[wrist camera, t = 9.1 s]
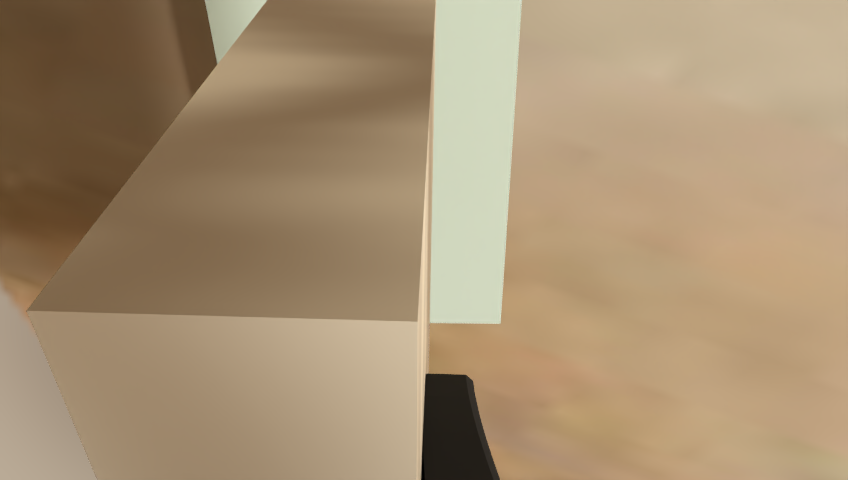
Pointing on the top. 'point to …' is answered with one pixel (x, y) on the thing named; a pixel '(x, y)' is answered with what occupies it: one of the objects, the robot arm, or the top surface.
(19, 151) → the top surface
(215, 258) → the tan wooden block
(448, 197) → the rest board
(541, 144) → the top surface
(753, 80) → the top surface
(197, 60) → the top surface
